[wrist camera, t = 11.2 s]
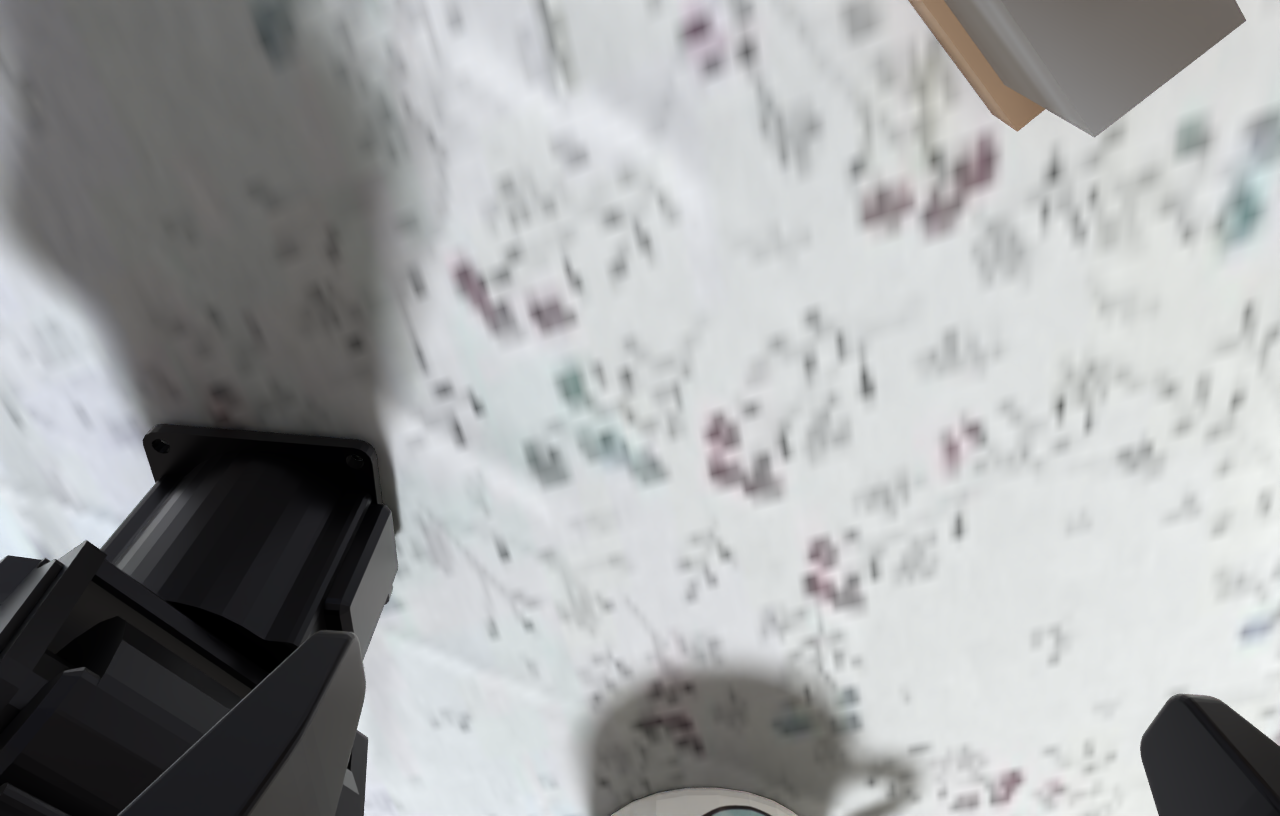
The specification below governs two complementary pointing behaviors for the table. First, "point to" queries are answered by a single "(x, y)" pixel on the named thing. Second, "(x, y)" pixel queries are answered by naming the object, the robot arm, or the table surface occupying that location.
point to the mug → (704, 804)
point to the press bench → (1074, 51)
